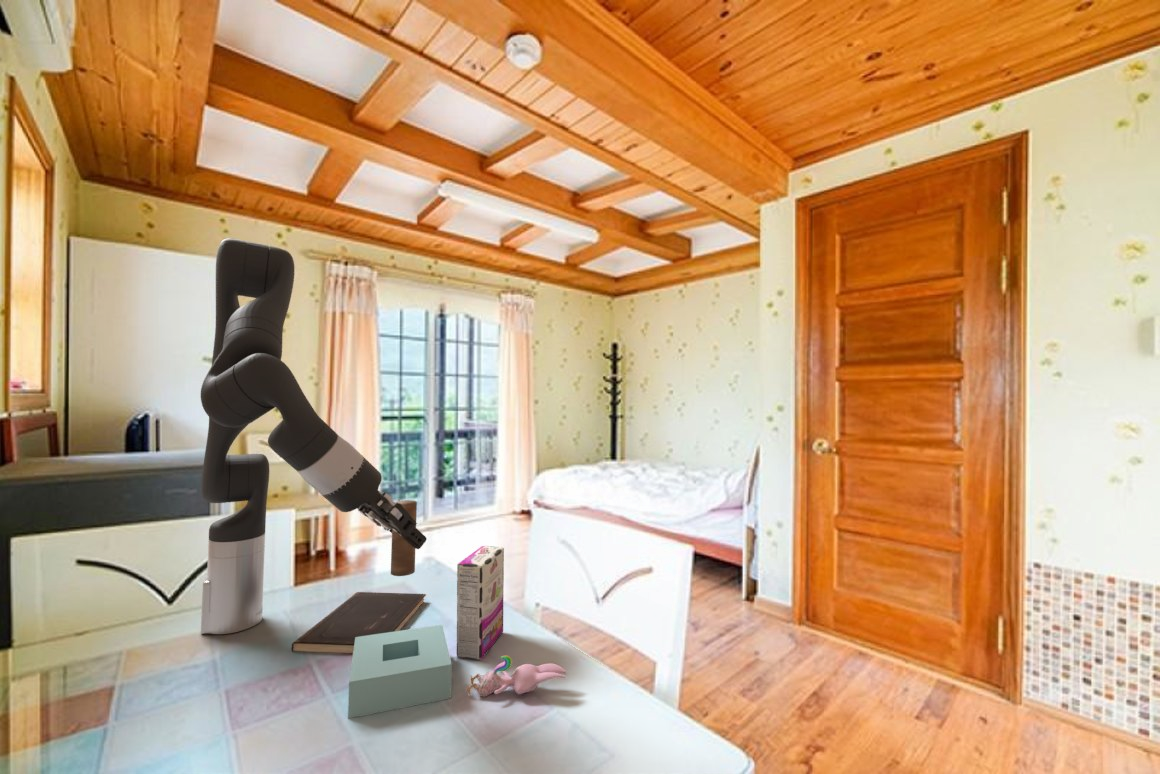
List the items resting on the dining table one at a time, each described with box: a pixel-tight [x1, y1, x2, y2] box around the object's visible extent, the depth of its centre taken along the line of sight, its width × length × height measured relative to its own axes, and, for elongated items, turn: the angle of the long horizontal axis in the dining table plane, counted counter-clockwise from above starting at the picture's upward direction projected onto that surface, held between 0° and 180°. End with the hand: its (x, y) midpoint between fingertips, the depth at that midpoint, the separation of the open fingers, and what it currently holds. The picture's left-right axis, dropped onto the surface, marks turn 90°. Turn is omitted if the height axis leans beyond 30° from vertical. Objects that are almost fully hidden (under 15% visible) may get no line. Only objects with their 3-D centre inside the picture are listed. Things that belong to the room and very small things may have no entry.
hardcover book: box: [290, 591, 427, 654], centre depth 98 cm, size 16×23×2 cm
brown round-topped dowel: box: [390, 500, 418, 577], centre depth 78 cm, size 4×4×11 cm
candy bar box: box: [456, 545, 505, 661], centre depth 90 cm, size 11×5×16 cm, turn 168°
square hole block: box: [347, 624, 453, 719], centre depth 78 cm, size 14×14×5 cm
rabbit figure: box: [466, 655, 567, 697], centre depth 76 cm, size 6×6×15 cm
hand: (415, 541), depth 80 cm, fingers closed on brown round-topped dowel, 3 cm apart
